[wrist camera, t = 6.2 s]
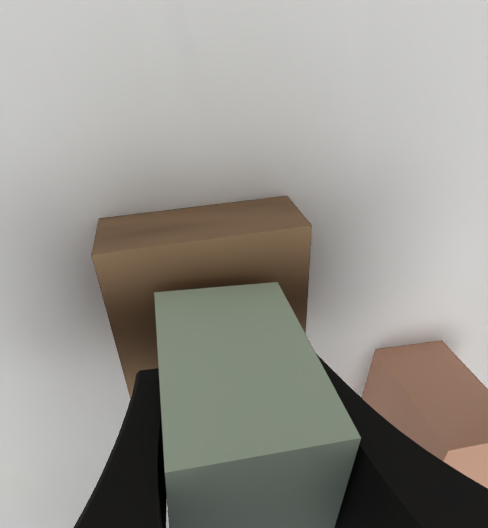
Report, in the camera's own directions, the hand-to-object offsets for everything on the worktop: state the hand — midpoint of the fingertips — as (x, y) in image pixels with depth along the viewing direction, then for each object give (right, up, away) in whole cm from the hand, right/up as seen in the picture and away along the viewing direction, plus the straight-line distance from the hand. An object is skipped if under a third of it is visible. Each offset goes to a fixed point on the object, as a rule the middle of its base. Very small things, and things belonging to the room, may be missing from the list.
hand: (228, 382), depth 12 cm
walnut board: (-1, +3, +5) cm, 6 cm away
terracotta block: (+9, -2, +10) cm, 14 cm away
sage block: (0, +1, +2) cm, 2 cm away
